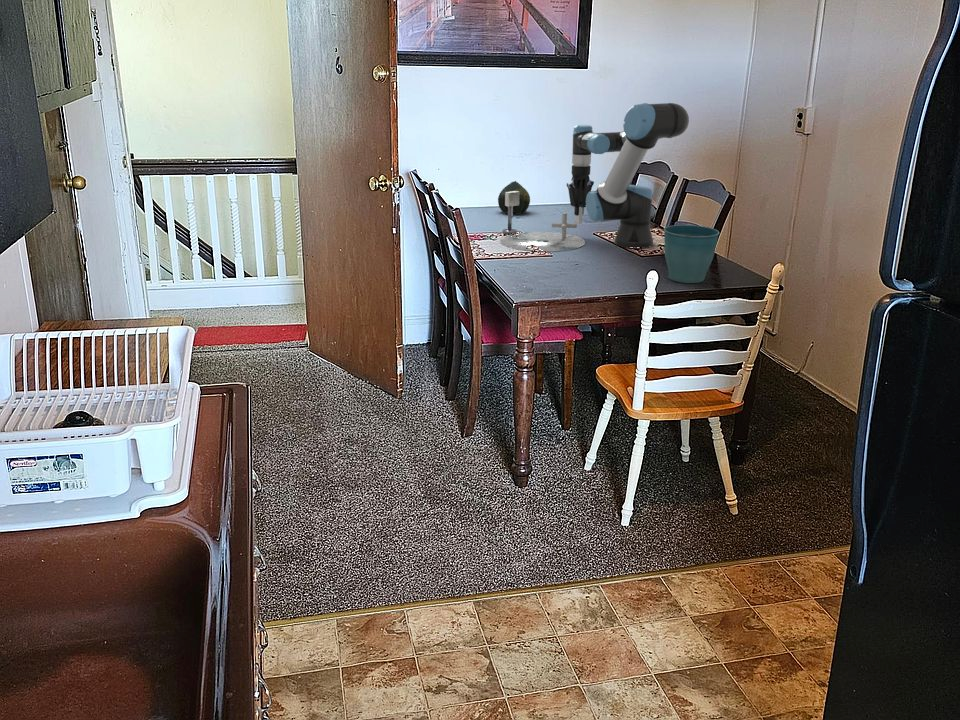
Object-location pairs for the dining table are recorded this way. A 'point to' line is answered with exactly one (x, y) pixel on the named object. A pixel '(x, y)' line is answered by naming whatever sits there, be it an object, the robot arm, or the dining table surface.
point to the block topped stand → (511, 208)
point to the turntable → (543, 241)
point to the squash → (523, 198)
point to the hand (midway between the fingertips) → (578, 222)
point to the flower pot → (689, 251)
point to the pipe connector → (564, 225)
